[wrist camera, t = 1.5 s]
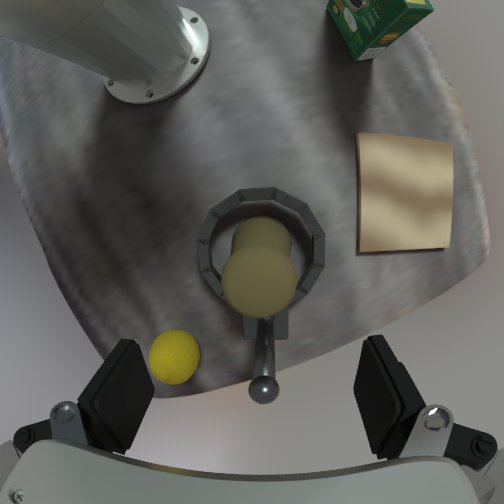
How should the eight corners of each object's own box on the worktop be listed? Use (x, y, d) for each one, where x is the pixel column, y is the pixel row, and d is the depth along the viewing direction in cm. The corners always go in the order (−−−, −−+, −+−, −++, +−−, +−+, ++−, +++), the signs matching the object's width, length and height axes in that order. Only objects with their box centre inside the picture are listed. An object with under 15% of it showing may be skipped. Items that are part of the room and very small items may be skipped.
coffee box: (376, 62, 21) (439, 10, 8) (353, 64, 21) (408, 6, 9) (347, 6, 19) (384, -61, 6) (324, 7, 19) (352, -65, 7)
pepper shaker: (299, 262, 28) (316, 317, 17) (243, 279, 29) (231, 341, 18) (280, 206, 26) (290, 232, 16) (223, 226, 27) (195, 263, 17)
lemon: (154, 328, 31) (128, 368, 24) (186, 309, 30) (163, 351, 23) (182, 359, 33) (164, 402, 25) (214, 343, 31) (202, 389, 24)
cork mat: (355, 133, 24) (358, 132, 23) (448, 143, 23) (452, 143, 22) (357, 249, 27) (359, 252, 26) (445, 245, 26) (448, 247, 25)
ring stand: (199, 190, 26) (147, 210, 14) (318, 184, 25) (360, 198, 14) (217, 336, 31) (194, 416, 19) (316, 333, 30) (335, 414, 18)
